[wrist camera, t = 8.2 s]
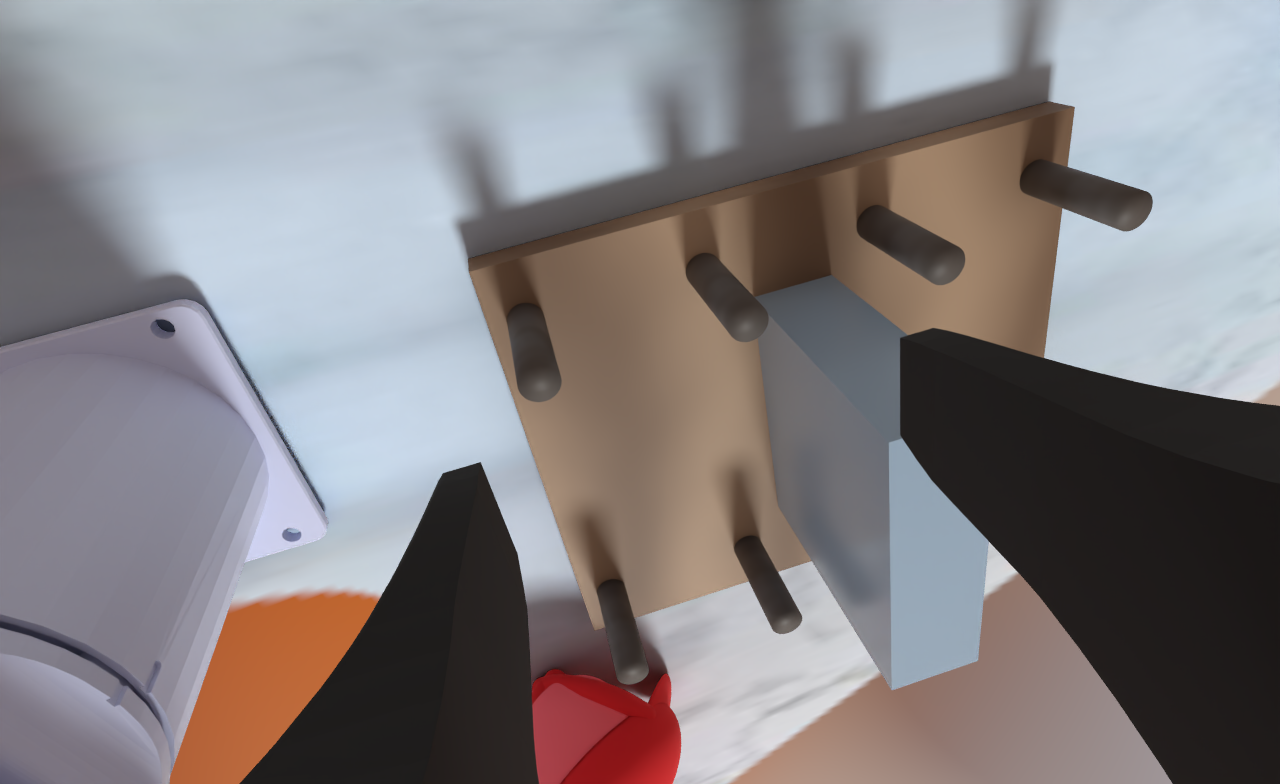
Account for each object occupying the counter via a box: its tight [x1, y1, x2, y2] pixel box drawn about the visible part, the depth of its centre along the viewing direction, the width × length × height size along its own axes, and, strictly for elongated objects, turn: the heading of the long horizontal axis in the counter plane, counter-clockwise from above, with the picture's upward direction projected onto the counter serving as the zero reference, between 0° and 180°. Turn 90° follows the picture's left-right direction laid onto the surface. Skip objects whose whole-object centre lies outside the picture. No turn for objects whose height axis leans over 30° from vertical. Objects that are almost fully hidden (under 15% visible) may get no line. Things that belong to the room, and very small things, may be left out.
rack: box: [468, 102, 1153, 684], centre depth 22 cm, size 17×14×4 cm
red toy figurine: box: [532, 669, 681, 784], centre depth 27 cm, size 8×6×6 cm
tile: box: [755, 275, 989, 690], centre depth 19 cm, size 2×8×8 cm, turn 12°
